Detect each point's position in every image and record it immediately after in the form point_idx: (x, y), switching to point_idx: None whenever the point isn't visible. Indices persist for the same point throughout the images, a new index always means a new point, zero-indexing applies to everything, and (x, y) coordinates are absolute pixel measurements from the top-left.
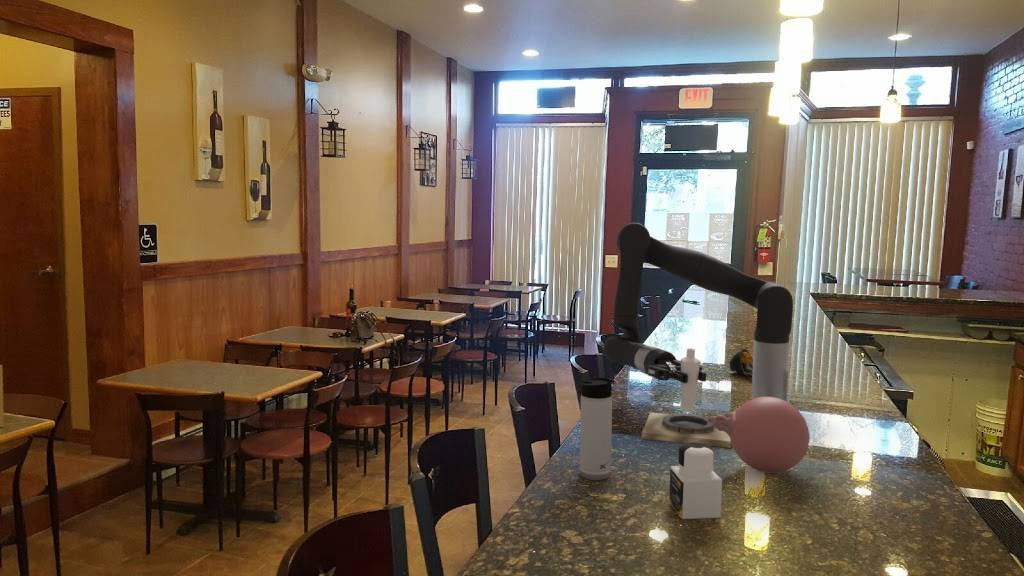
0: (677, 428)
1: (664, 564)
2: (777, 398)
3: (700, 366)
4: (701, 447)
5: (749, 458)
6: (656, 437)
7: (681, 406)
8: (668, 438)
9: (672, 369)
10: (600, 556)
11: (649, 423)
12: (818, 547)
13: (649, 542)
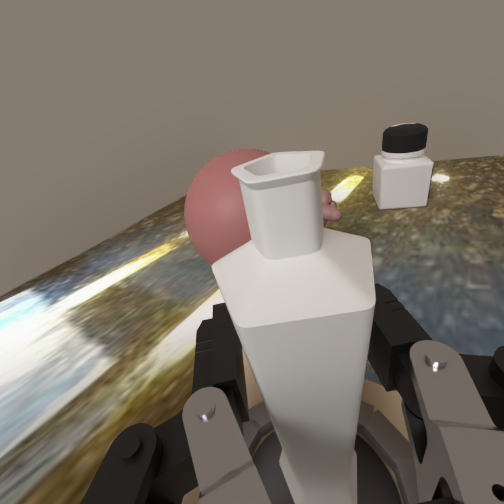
0: (382, 416)
1: (433, 162)
2: (222, 154)
3: (126, 440)
4: (399, 125)
5: None
6: None
7: (352, 465)
8: None
9: (456, 377)
10: (491, 161)
11: None
12: None
13: (447, 172)
